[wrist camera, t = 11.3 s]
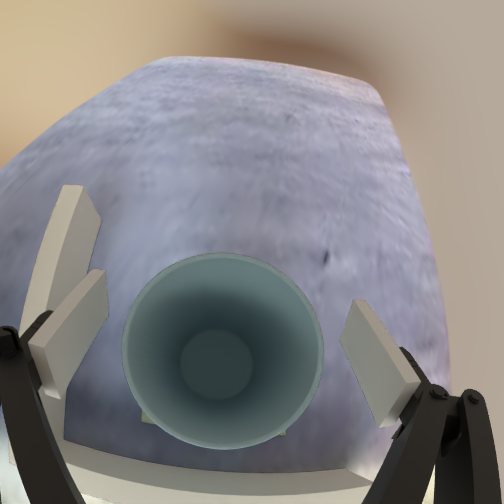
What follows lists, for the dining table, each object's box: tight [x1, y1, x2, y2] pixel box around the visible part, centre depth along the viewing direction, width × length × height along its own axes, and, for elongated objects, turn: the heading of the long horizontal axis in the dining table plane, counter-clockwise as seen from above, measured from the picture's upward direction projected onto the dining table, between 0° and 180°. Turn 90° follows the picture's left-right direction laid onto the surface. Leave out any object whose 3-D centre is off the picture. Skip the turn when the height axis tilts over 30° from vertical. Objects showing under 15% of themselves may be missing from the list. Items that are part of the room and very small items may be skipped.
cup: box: [122, 253, 324, 450], centre depth 16 cm, size 8×8×10 cm
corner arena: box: [8, 185, 373, 504], centre depth 18 cm, size 23×20×5 cm
